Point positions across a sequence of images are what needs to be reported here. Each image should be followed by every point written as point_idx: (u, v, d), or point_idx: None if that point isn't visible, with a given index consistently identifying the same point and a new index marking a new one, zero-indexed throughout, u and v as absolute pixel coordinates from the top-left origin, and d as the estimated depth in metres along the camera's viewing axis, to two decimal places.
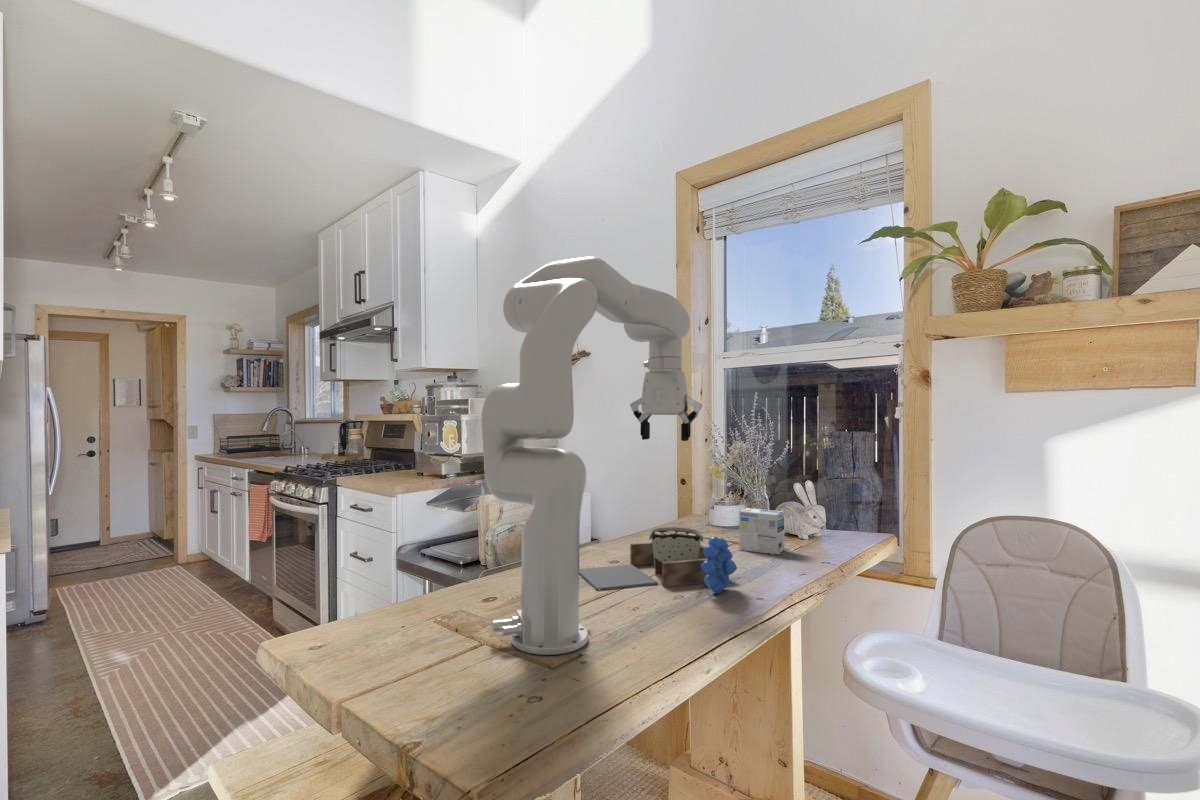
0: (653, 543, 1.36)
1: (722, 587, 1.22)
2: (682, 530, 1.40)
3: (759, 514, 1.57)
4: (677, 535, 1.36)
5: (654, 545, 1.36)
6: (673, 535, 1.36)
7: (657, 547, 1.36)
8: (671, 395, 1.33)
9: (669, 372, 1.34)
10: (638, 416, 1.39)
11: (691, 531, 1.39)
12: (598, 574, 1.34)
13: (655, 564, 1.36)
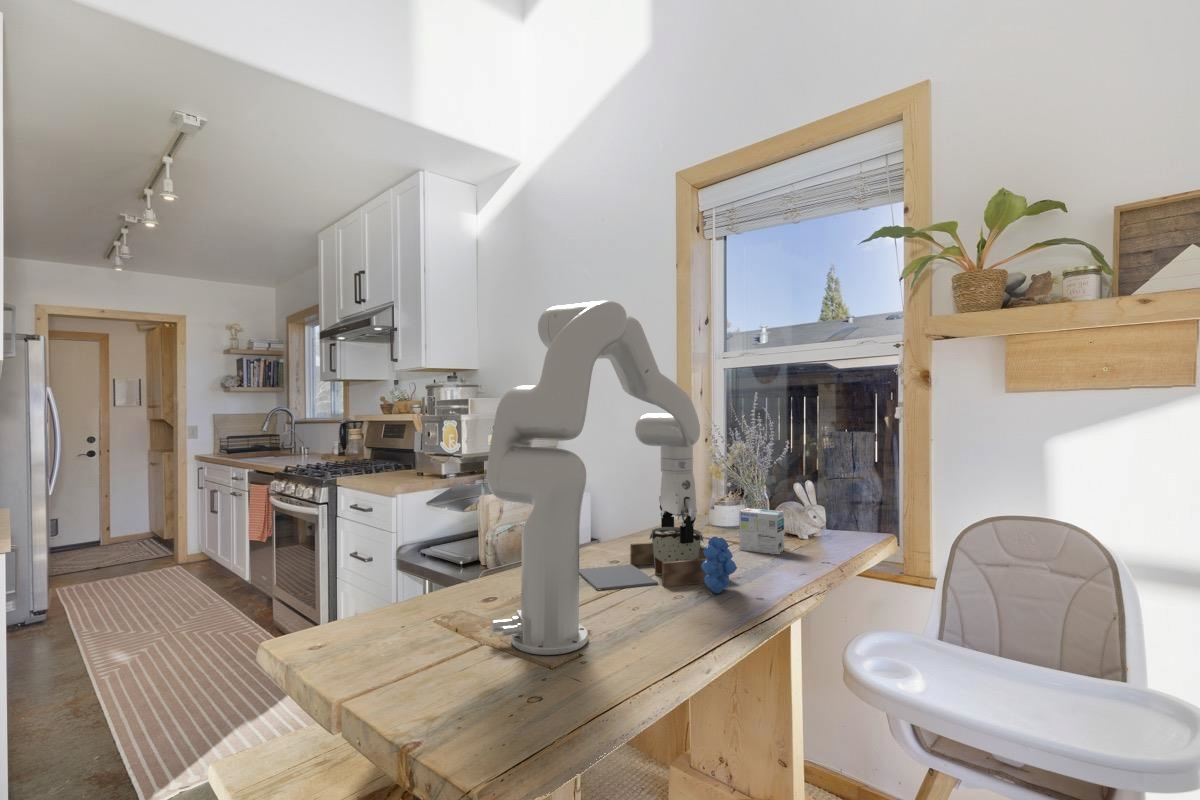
0: (653, 543, 1.36)
1: (722, 587, 1.22)
2: None
3: (759, 514, 1.57)
4: (677, 534, 1.36)
5: (654, 544, 1.36)
6: (673, 534, 1.36)
7: (657, 546, 1.36)
8: None
9: None
10: None
11: None
12: (598, 574, 1.34)
13: (655, 563, 1.36)
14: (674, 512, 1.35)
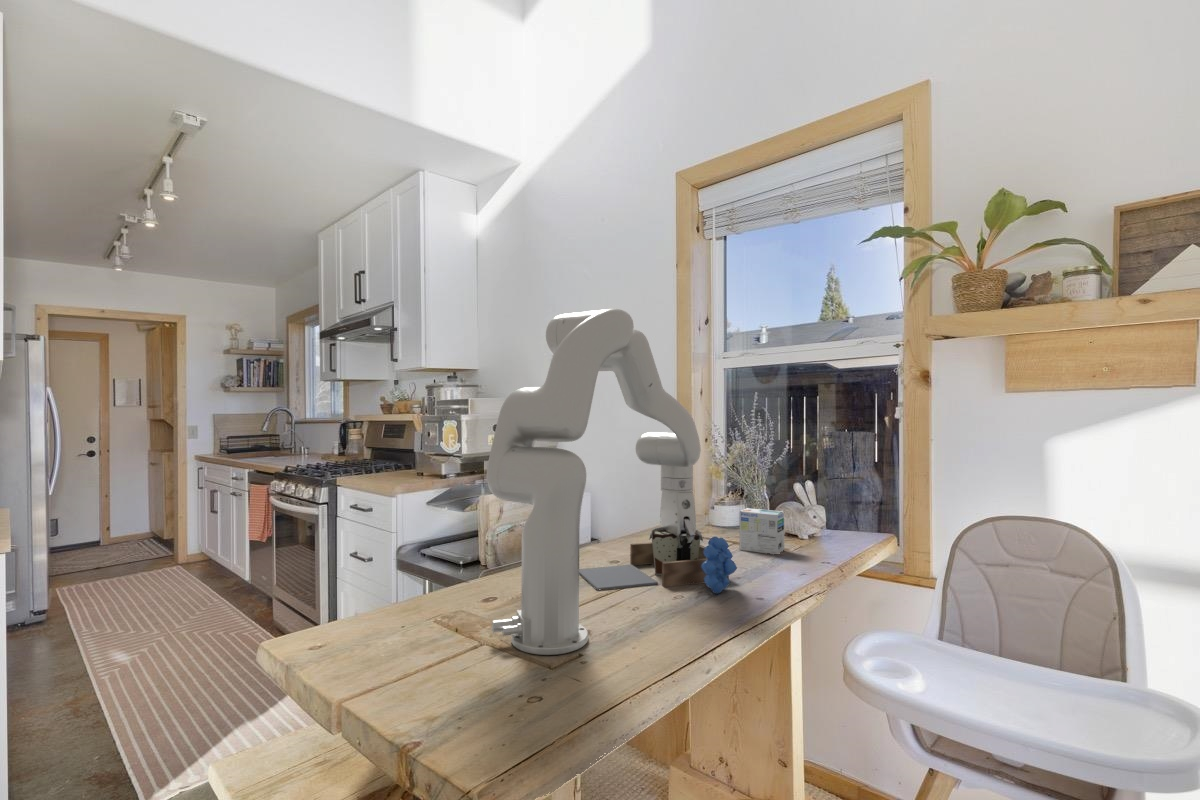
0: (653, 543, 1.36)
1: (722, 587, 1.22)
2: None
3: (759, 514, 1.57)
4: None
5: (654, 545, 1.36)
6: (673, 535, 1.36)
7: (657, 547, 1.36)
8: None
9: None
10: None
11: None
12: (598, 574, 1.34)
13: (655, 564, 1.36)
14: (674, 531, 1.35)
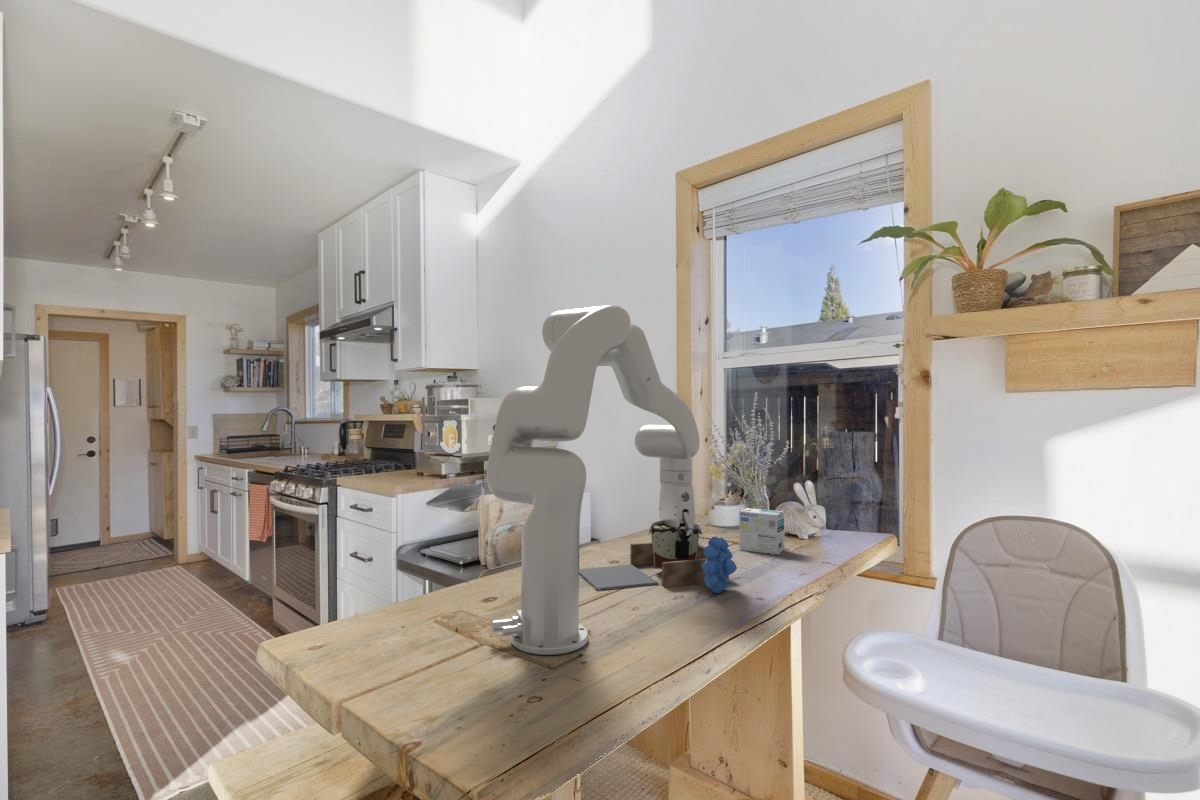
0: (652, 538, 1.36)
1: (722, 587, 1.22)
2: None
3: (759, 514, 1.57)
4: None
5: (653, 539, 1.36)
6: (672, 529, 1.36)
7: (656, 541, 1.36)
8: None
9: None
10: None
11: None
12: (598, 574, 1.34)
13: (654, 558, 1.36)
14: (672, 524, 1.35)
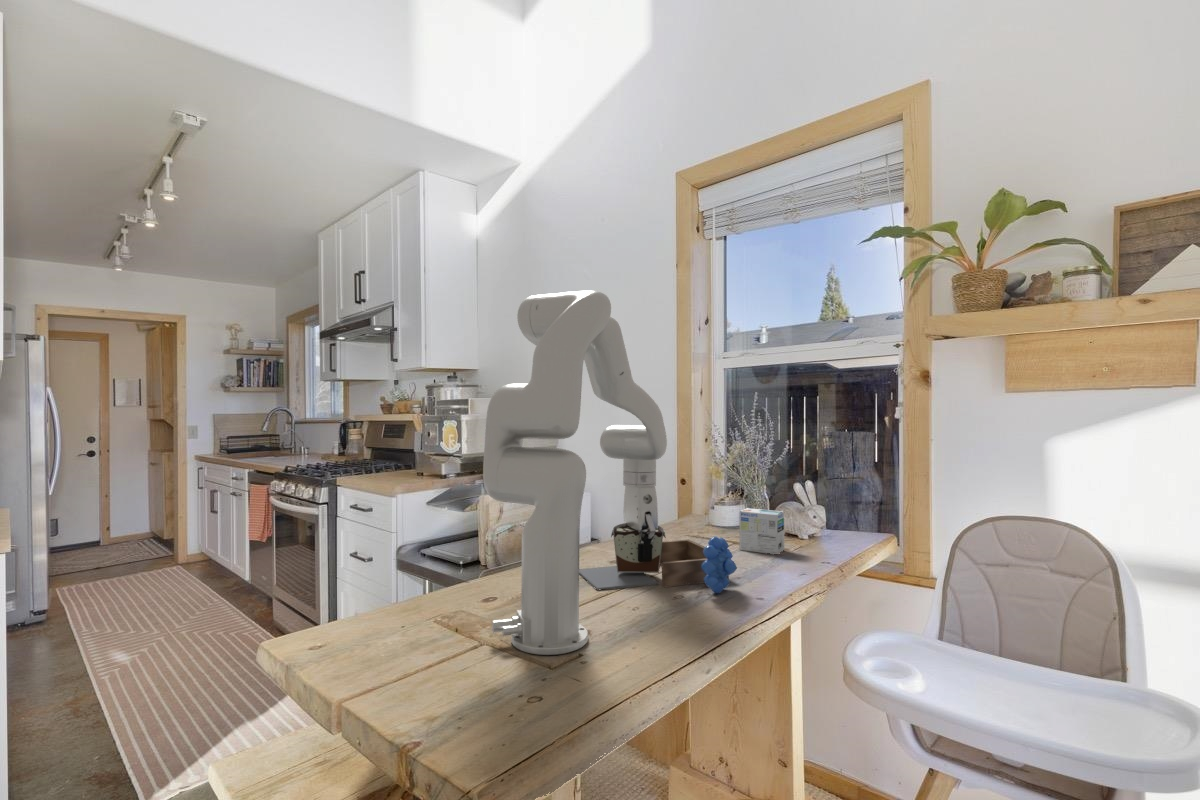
0: (614, 541, 1.33)
1: (722, 587, 1.22)
2: None
3: (759, 514, 1.57)
4: None
5: (616, 542, 1.33)
6: (635, 532, 1.33)
7: (619, 544, 1.33)
8: None
9: None
10: None
11: None
12: (598, 574, 1.34)
13: (617, 561, 1.33)
14: (635, 527, 1.32)
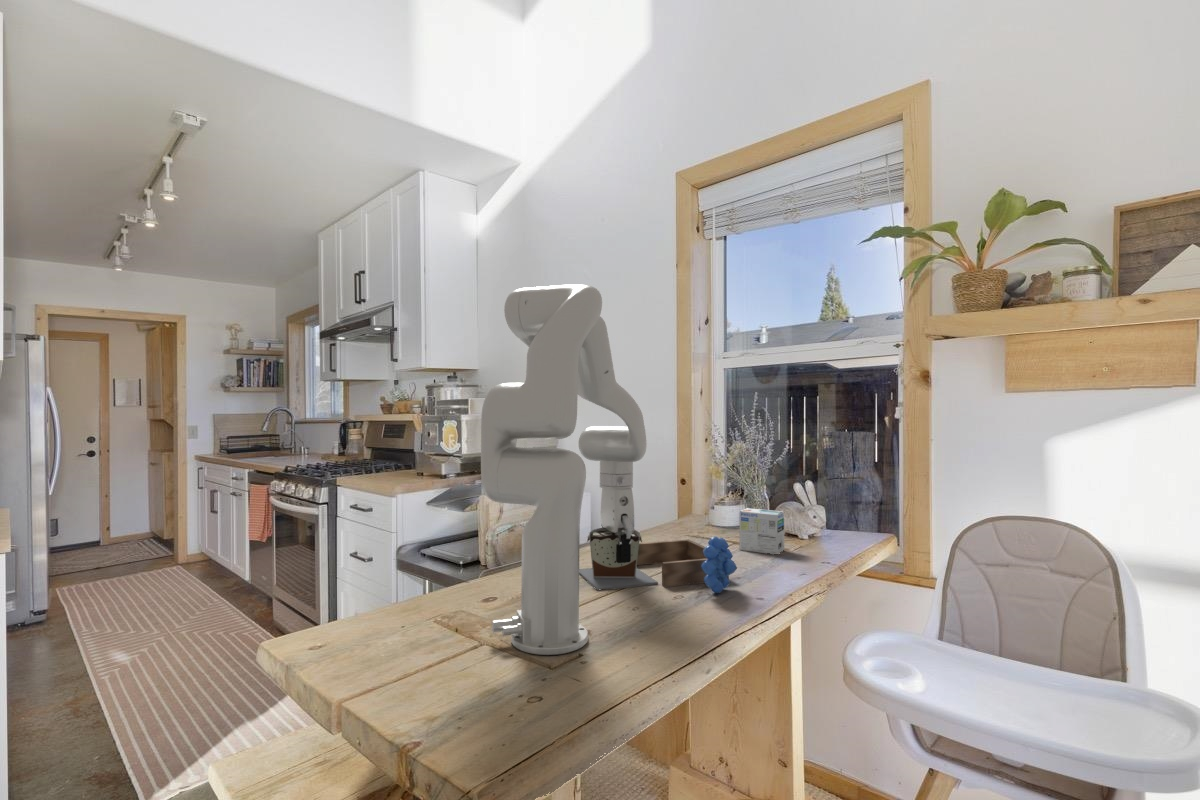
0: (591, 545, 1.32)
1: (722, 587, 1.22)
2: None
3: (759, 514, 1.57)
4: None
5: (592, 547, 1.32)
6: (612, 536, 1.31)
7: (595, 549, 1.32)
8: None
9: None
10: None
11: None
12: None
13: (593, 566, 1.32)
14: (611, 529, 1.30)
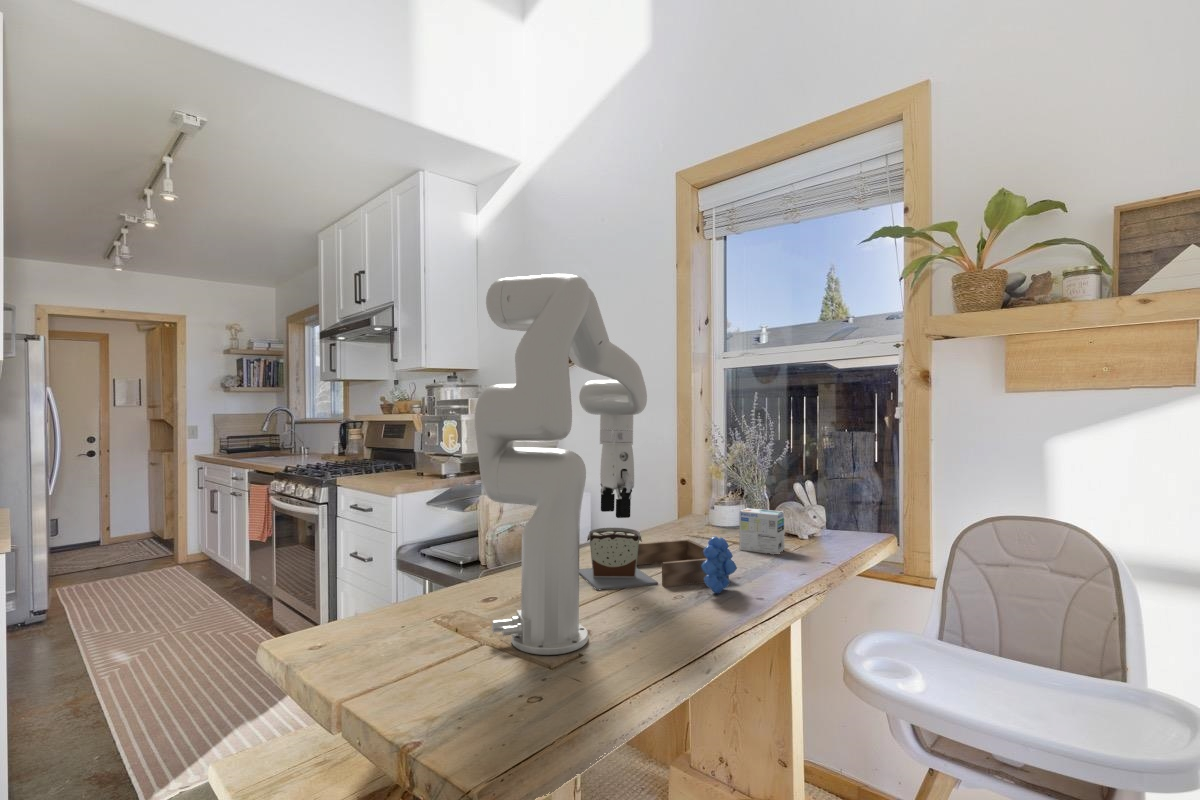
0: (591, 545, 1.32)
1: (722, 587, 1.22)
2: (621, 530, 1.37)
3: (759, 514, 1.57)
4: (615, 535, 1.32)
5: (592, 546, 1.32)
6: (611, 535, 1.32)
7: (595, 548, 1.32)
8: None
9: None
10: None
11: (630, 531, 1.36)
12: None
13: (593, 566, 1.32)
14: (611, 485, 1.30)
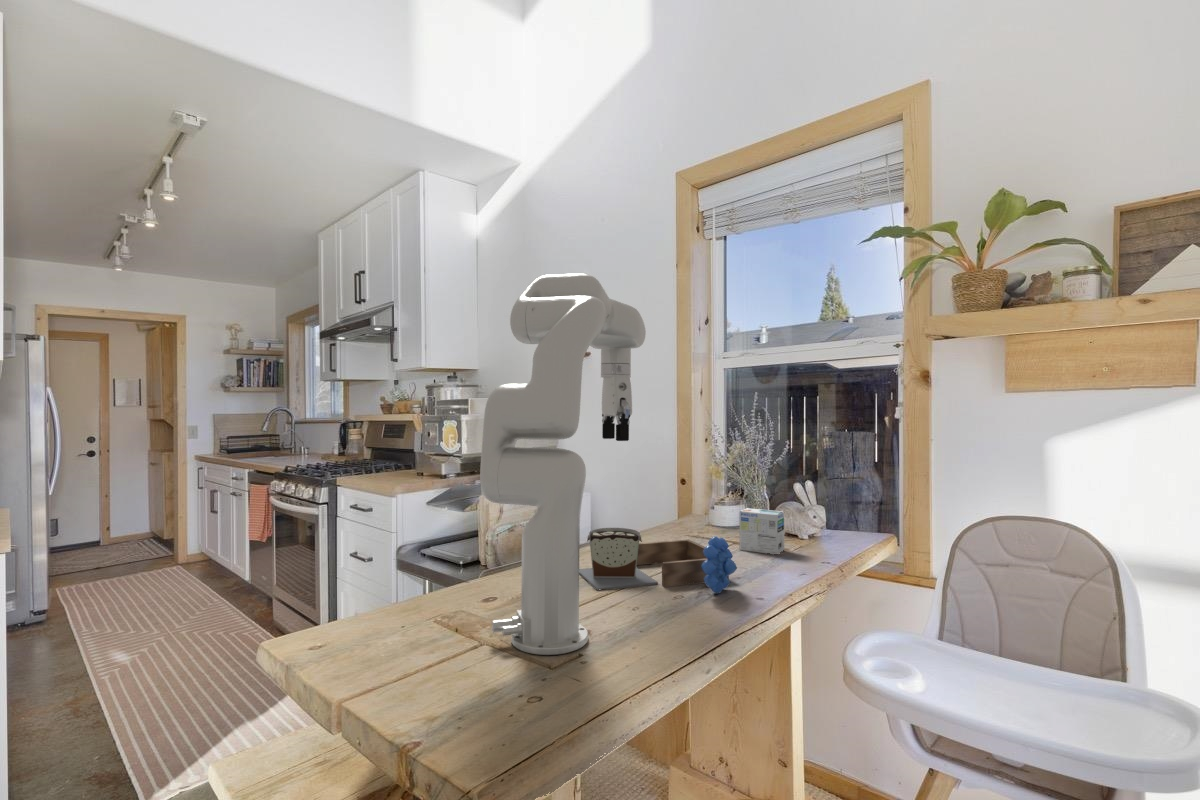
0: (591, 545, 1.32)
1: (722, 587, 1.22)
2: (621, 530, 1.37)
3: (759, 514, 1.57)
4: (615, 536, 1.32)
5: (592, 546, 1.32)
6: (611, 536, 1.32)
7: (595, 549, 1.32)
8: None
9: None
10: None
11: (630, 531, 1.36)
12: None
13: (593, 566, 1.32)
14: (611, 413, 1.45)
